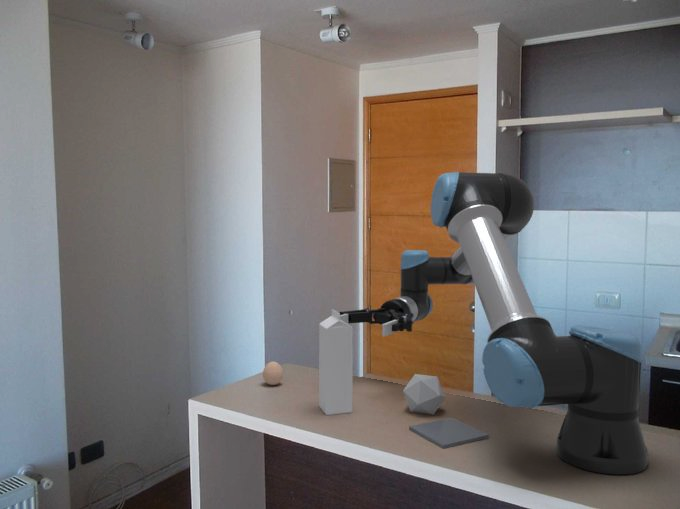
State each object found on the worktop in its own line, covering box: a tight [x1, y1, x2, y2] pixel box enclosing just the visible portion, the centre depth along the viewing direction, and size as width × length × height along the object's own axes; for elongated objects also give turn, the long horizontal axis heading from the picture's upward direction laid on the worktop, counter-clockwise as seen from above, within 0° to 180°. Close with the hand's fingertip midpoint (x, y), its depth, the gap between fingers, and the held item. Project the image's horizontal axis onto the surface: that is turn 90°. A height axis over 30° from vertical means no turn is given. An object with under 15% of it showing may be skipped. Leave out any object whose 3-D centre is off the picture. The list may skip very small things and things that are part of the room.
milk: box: [318, 308, 354, 416], centre depth 134 cm, size 6×6×22 cm
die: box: [402, 373, 446, 416], centre depth 134 cm, size 8×9×10 cm
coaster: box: [408, 417, 489, 449], centre depth 121 cm, size 11×11×1 cm
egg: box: [262, 361, 284, 386], centre depth 154 cm, size 5×5×6 cm
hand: (357, 326), depth 143 cm, fingers open, 13 cm apart
